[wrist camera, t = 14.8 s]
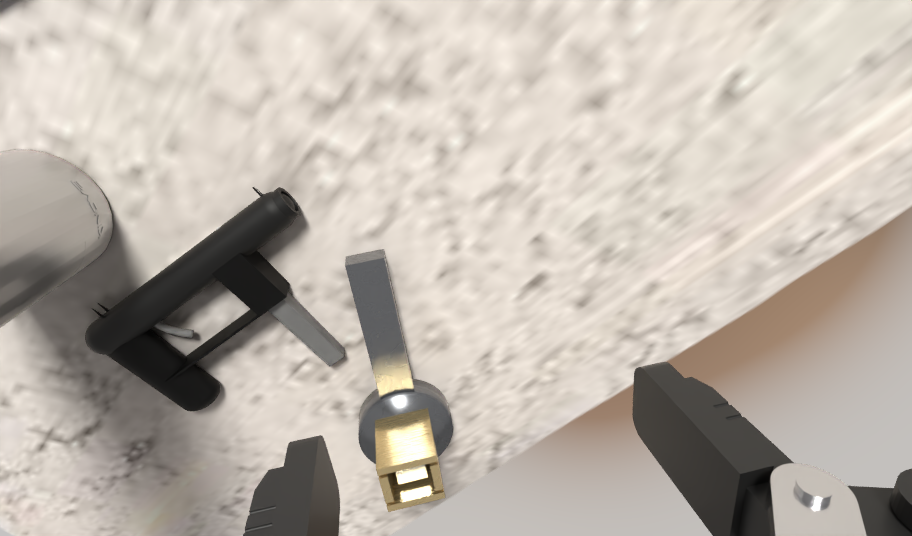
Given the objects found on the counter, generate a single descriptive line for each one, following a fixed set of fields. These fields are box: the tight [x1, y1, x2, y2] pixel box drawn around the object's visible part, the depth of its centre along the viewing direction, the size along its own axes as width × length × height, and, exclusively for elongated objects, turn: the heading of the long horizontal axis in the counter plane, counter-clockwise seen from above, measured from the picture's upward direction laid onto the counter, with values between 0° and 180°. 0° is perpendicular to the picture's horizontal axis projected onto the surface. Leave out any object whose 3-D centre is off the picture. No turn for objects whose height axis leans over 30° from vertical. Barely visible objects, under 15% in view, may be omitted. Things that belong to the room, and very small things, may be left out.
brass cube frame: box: [375, 408, 445, 512], centre depth 43 cm, size 5×5×6 cm
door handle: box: [85, 187, 344, 411], centre depth 40 cm, size 3×20×16 cm
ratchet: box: [345, 249, 453, 484], centre depth 42 cm, size 9×22×7 cm, turn 9°
